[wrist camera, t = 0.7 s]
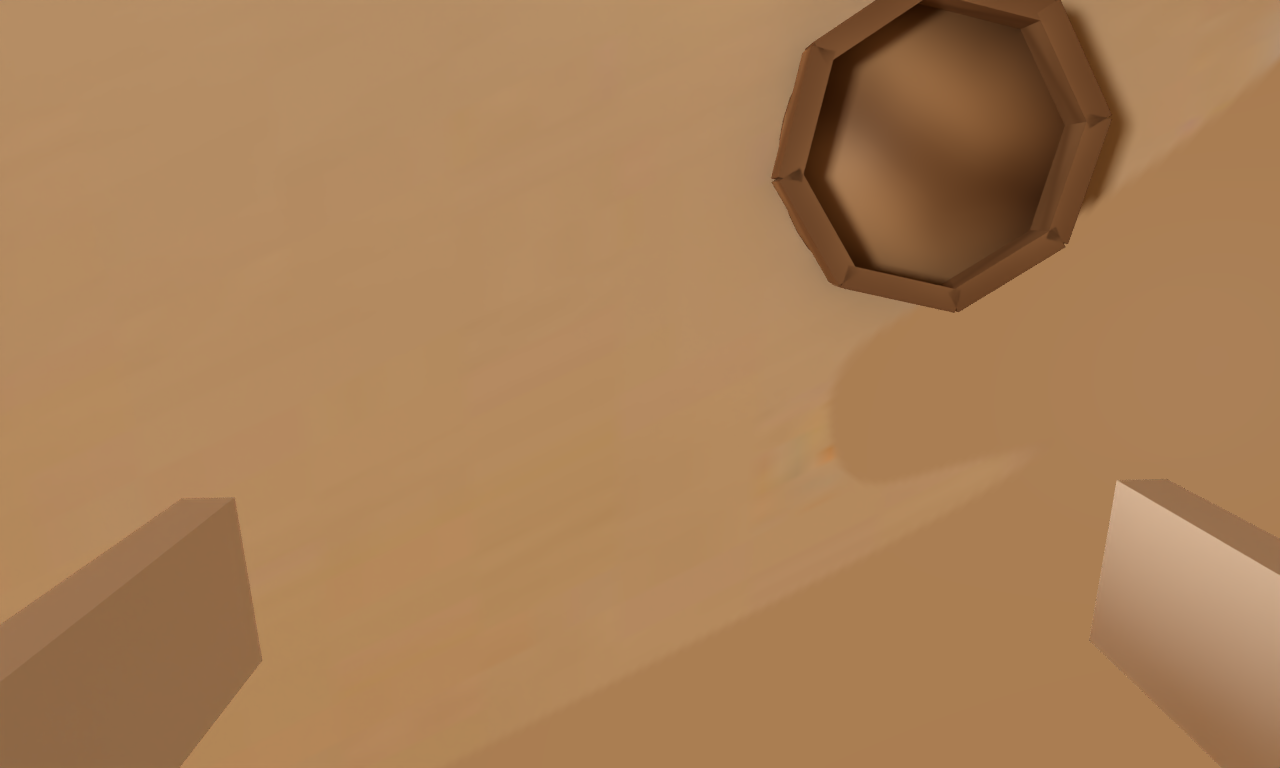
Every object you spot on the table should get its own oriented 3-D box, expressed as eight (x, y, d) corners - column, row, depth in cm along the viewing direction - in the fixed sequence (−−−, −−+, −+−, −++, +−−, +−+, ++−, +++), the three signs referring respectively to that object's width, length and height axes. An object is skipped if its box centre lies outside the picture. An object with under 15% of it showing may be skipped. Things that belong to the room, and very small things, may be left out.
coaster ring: (823, -43, 30) (838, -61, 28) (1112, 31, 31) (1147, 19, 29) (746, 265, 33) (755, 269, 31) (1012, 323, 34) (1037, 330, 32)
